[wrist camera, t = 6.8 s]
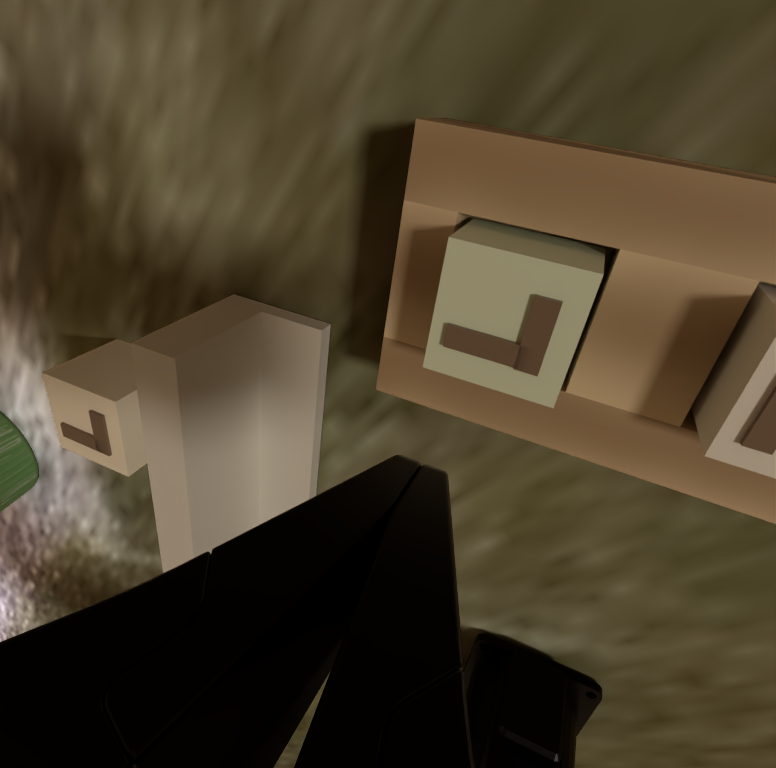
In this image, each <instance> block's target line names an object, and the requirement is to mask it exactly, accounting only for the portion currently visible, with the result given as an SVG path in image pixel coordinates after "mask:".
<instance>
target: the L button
mask: <svg viewBox="0 0 776 768" xmlns="http://www.w3.org/2000/svg"><path fill="white" fill-rule="evenodd" d="M605 249H606V248H603V247H599V246H595V245H590V244H586V243H581V242H577V241H573V240H568V239H564V238H560V237H555V236H551V235H546V234H542V233H538V232H533V231H529V230H525V229H520V228H516V227H511V226H507V225H503V224H498V223H494V222H489V221H485V220H481V219H476V218H474V219H473V220H471V221H470V222H469V223H467V224H466V225H464V226H463V227H462V228H460V229H459V230H458V231H456V232H455V233H453V234H452V235H451V236H449V238H448V243H447V248H446V253H445V258H444V263H443V268H442V273H441V278H440V283H439V288H438V293H437V298H436V303H435V308H434V313H433V318H432V323H431V328H430V333H429V338H428V343H427V348H426V353H425V358H424V363H423V367H424V368H427V369H430V370H433V371H436V372H439V373H443V374H446V375H449V376H452V377H455V378H458V379H462V380H465V381H468V382H471V383H474V384H477V385H481V386H484V387H487V388H490V389H493V390H496V391H500V392H503V393H506V394H509V395H512V396H515V397H519V398H522V399H525V400H528V401H531V402H534V403H538V404H541V405H544V406H547V407H550V408H554V405H555V403H556V400H557V397H558V395H559V392H560V389H561V387H562V384H563V381H564V379H565V376H566V373H567V371H568V368H569V365H570V363H571V360H572V357H573V355H574V352H575V349H576V347H577V344H578V341H579V339H580V336H581V333H582V331H583V328H584V325H585V323H586V320H587V317H588V315H589V312H590V309H591V307H592V304H593V301H594V299H595V296H596V293H597V291H598V288H599V285H600V283H601V280H602V277H603V275H604V262H605Z"/></svg>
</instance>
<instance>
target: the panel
mask: <svg viewBox="0 0 776 768" xmlns="http://www.w3.org/2000/svg"><path fill="white" fill-rule="evenodd" d="M474 218H476V219H481V220H485V221H489V222H494V223H498V224H503V225H507V226H511V227H516V228H520V229H525V230H529V231H533V232H538V233H542V234H546V235H551V236H555V237H560V238H564V239H568V240H573V241H577V242H581V243H586V244H590V245H595V246H599V247H603V248H606V249H605V262H604V275H603V277H602V280H601V283H600V285H599V288H598V291H597V293H596V296H595V299H594V301H593V304H592V307H591V309H590V312H589V315H588V317H587V320H586V323H585V325H584V328H583V331H582V333H581V336H580V339H579V341H578V344H577V347H576V349H575V352H574V355H573V357H572V360H571V363H570V365H569V368H568V371H567V373H566V376H565V379H564V381H563V384H562V387H561V389H560V392H559V395H558V397H557V400H556V403H555V405H554V408H550V407H547V406H544V405H541V404H538V403H534V402H531V401H528V400H525V399H522V398H519V397H515V396H512V395H509V394H506V393H503V392H500V391H496V390H493V389H490V388H487V387H484V386H481V385H477V384H474V383H471V382H468V381H465V380H462V379H458V378H455V377H452V376H449V375H446V374H443V373H439V372H436V371H433V370H430V369H427V368H424V367H423V363H424V358H425V353H426V348H427V343H428V338H429V333H430V328H431V323H432V318H433V313H434V308H435V303H436V298H437V293H438V288H439V283H440V278H441V273H442V268H443V263H444V258H445V253H446V248H447V243H448V238H449V236H451V235H452V234H453V233H455V232H456V231H458V230H459V229H460V228H462V227H463V226H464V225H466V224H467V223H469V222H470V221H471V220H473V219H474ZM758 283H761V284H765V285H770V286H774V287H776V177H773V176H768V175H762V174H757V173H751V172H745V171H740V170H734V169H728V168H723V167H717V166H712V165H706V164H700V163H695V162H689V161H684V160H678V159H672V158H667V157H661V156H656V155H650V154H644V153H639V152H633V151H628V150H622V149H616V148H611V147H605V146H600V145H594V144H588V143H583V142H577V141H571V140H566V139H560V138H555V137H549V136H543V135H538V134H532V133H527V132H521V131H515V130H510V129H504V128H499V127H493V126H487V125H482V124H476V123H471V122H465V121H459V120H454V119H448V118H416V123H415V129H414V136H413V143H412V150H411V156H410V163H409V170H408V177H407V183H406V190H405V197H404V203H403V210H402V217H401V224H400V230H399V237H398V244H397V251H396V257H395V264H394V271H393V277H392V284H391V291H390V298H389V304H388V311H387V318H386V325H385V331H384V338H383V345H382V352H381V358H380V365H379V372H378V378H377V385H376V390H379V391H382V392H385V393H388V394H391V395H394V396H397V397H400V398H403V399H406V400H409V401H412V402H415V403H418V404H421V405H424V406H427V407H430V408H433V409H435V410H438V411H441V412H444V413H447V414H450V415H453V416H456V417H459V418H462V419H465V420H468V421H471V422H474V423H477V424H480V425H483V426H486V427H489V428H492V429H495V430H498V431H501V432H504V433H507V434H510V435H513V436H516V437H519V438H522V439H525V440H528V441H531V442H534V443H537V444H540V445H543V446H546V447H548V448H551V449H554V450H557V451H560V452H563V453H566V454H569V455H572V456H575V457H578V458H581V459H584V460H587V461H590V462H593V463H596V464H599V465H602V466H605V467H608V468H611V469H614V470H617V471H620V472H623V473H626V474H629V475H632V476H635V477H638V478H641V479H644V480H647V481H650V482H653V483H656V484H658V485H661V486H664V487H667V488H670V489H673V490H676V491H679V492H682V493H685V494H688V495H691V496H694V497H697V498H700V499H703V500H706V501H709V502H712V503H715V504H718V505H721V506H724V507H727V508H730V509H733V510H736V511H739V512H742V513H745V514H748V515H751V516H754V517H757V518H760V519H763V520H766V521H769V522H771V523H774V524H776V479H775V478H772V477H769V476H766V475H763V474H759V473H756V472H753V471H750V470H747V469H744V468H740V467H737V466H734V465H731V464H728V463H725V462H721V461H718V460H715V459H712V458H709V457H706V456H704V453H703V450H702V446H701V442H700V438H699V434H698V431H697V427H696V423H695V419H694V415H693V411H692V408H691V406H692V404H693V402H694V401H695V399H696V397H697V395H698V393H699V391H700V390H701V388H702V386H703V384H704V382H705V380H706V379H707V377H708V375H709V373H710V371H711V369H712V368H713V366H714V364H715V362H716V360H717V358H718V357H719V355H720V353H721V351H722V349H723V347H724V346H725V344H726V342H727V340H728V338H729V336H730V335H731V333H732V331H733V329H734V327H735V325H736V324H737V322H738V320H739V318H740V316H741V315H742V313H743V311H744V309H745V307H746V305H747V304H748V302H749V300H750V298H751V296H752V294H753V293H754V291H755V289H756V287H757V285H758Z"/></svg>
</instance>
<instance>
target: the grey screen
mask: <svg viewBox="0 0 776 768" xmlns="http://www.w3.org/2000/svg"><path fill="white" fill-rule="evenodd" d="M330 327H331V324H329V323H326V322H323V321H319V320H316V319H313V318H310V317H306V316H303V315H300V314H297V313H293V312H290V311H287V310H284V309H280V308H277V307H274V306H271V305H267V304H264V303H261V302H258V301H254V300H251V299H248V298H245V297H241V296H238V295H235V294H233V295H231V296H229V297H227V298H225V299H223V300H220V301H218V302H216V303H214V304H212V305H210V306H208V307H205V308H203V309H201V310H199V311H197V312H195V313H193V314H190V315H188V316H186V317H184V318H182V319H180V320H178V321H176V322H173V323H171V324H169V325H167V326H165V327H163V328H161V329H158V330H156V331H154V332H152V333H150V334H148V335H146V336H143V337H141V338H139V339H137V340H135V341H133V342H131V343H130V345H131V352H132V359H133V366H134V373H135V380H136V387H137V394H138V401H139V408H140V415H141V422H142V428H143V435H144V442H145V449H146V456H147V463H148V470H149V477H150V484H151V491H152V498H153V505H154V512H155V519H156V526H157V532H158V539H159V546H160V553H161V560H162V567H163V573H165V572H167V571H169V570H171V569H173V568H175V567H177V566H179V565H181V564H183V563H185V562H187V561H189V560H191V559H193V558H195V557H197V556H199V555H201V554H203V553H205V552H207V551H208V552H210V553H212V549H213V548H215V547H217V546H219V545H221V544H223V543H225V542H227V541H229V540H231V539H233V538H234V537H236V536H238V535H240V534H242V533H244V532H246V531H248V530H250V529H252V528H254V527H256V526H258V525H260V524H262V523H264V522H266V521H268V520H270V519H272V518H274V517H276V516H277V515H279V514H281V513H283V512H285V511H287V510H289V509H291V508H293V507H295V506H297V505H299V504H301V503H303V502H305V501H307V500H309V499H311V498H313V497H315V496H316V489H317V477H318V466H319V454H320V443H321V431H322V420H323V408H324V396H325V385H326V373H327V362H328V350H329V339H330Z"/></svg>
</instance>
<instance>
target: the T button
mask: <svg viewBox="0 0 776 768" xmlns="http://www.w3.org/2000/svg"><path fill="white" fill-rule="evenodd" d="M691 408H692V411H693V415H694V419H695V423H696V427H697V431H698V434H699V438H700V442H701V446H702V450H703V453H704V456H706V457H709V458H712V459H715V460H718V461H721V462H725V463H728V464H731V465H734V466H737V467H740V468H744V469H747V470H750V471H753V472H756V473H759V474H763V475H766V476H769V477H772V478H775V479H776V287H774V286H770V285H765V284H761V283H758V285H757V287H756V289H755V291H754V293H753V294H752V296H751V298H750V300H749V302H748V304H747V305H746V307H745V309H744V311H743V313H742V315H741V316H740V318H739V320H738V322H737V324H736V325H735V327H734V329H733V331H732V333H731V335H730V336H729V338H728V340H727V342H726V344H725V346H724V347H723V349H722V351H721V353H720V355H719V357H718V358H717V360H716V362H715V364H714V366H713V368H712V369H711V371H710V373H709V375H708V377H707V379H706V380H705V382H704V384H703V386H702V388H701V390H700V391H699V393H698V395H697V397H696V399H695V401H694V402H693V404H692V406H691Z"/></svg>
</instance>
